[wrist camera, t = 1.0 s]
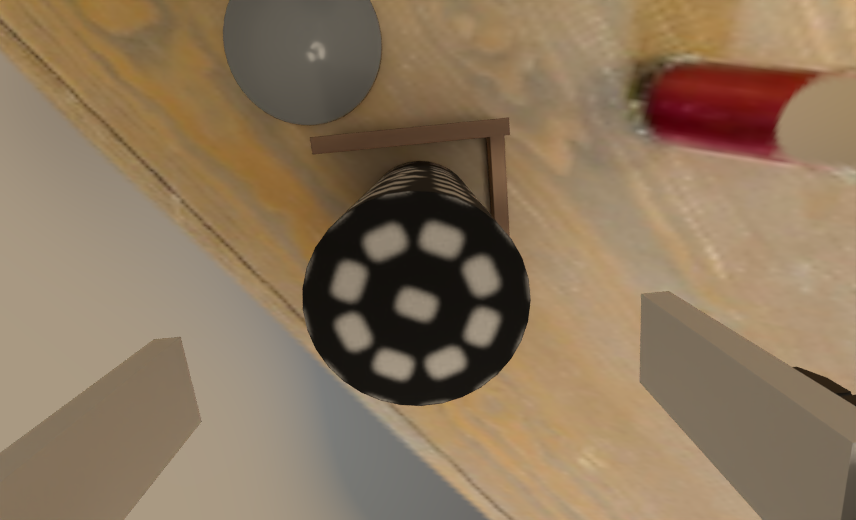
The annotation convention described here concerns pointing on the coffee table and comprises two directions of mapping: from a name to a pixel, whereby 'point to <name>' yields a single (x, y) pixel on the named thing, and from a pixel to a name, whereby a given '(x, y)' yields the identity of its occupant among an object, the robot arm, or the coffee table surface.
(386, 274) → the spotted tube
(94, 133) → the coffee table surface
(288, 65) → the coaster
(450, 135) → the rack
